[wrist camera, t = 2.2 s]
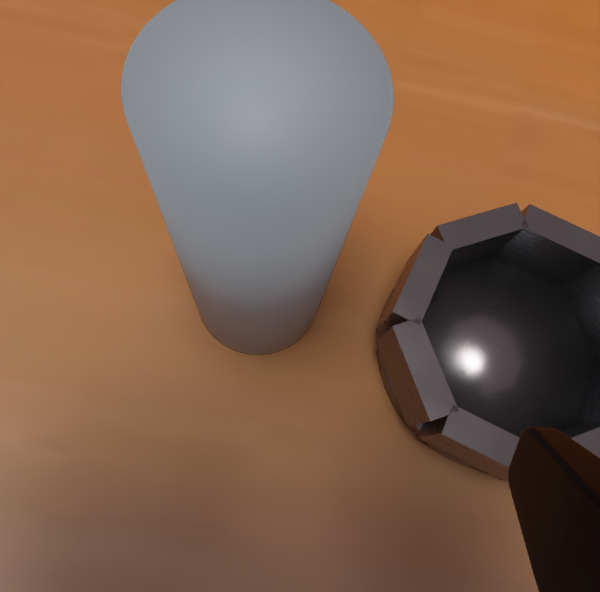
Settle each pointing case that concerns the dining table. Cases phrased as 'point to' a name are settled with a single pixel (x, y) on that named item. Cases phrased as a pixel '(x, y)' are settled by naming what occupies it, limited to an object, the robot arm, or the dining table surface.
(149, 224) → the dining table surface
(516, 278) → the socket collar
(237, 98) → the peg
